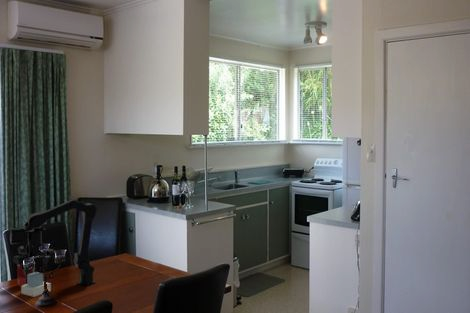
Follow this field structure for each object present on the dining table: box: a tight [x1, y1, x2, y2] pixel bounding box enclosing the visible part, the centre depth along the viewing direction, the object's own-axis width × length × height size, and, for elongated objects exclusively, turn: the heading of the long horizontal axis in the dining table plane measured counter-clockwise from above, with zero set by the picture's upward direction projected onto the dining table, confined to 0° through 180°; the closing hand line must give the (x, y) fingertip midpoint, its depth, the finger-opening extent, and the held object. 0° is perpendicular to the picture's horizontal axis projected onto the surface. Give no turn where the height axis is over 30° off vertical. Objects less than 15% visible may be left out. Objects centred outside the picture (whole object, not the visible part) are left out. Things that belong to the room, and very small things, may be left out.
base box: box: [20, 281, 52, 298], centre depth 215 cm, size 9×9×4 cm
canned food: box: [16, 261, 36, 288], centre depth 225 cm, size 8×8×11 cm
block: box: [27, 271, 44, 287], centre depth 214 cm, size 5×5×5 cm
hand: (35, 274), depth 214 cm, fingers open, 9 cm apart
